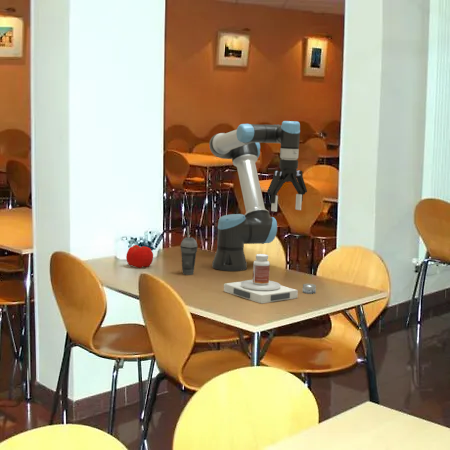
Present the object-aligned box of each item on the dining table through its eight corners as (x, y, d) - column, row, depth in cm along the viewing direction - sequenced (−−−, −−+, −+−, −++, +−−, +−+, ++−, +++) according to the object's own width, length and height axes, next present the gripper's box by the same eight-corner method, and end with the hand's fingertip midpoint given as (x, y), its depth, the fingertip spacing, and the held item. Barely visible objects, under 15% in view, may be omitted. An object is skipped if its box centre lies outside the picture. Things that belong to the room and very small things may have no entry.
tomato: (157, 267, 355) (158, 247, 354) (132, 270, 349) (133, 249, 347) (145, 263, 364) (146, 243, 363) (121, 265, 357) (121, 244, 356)
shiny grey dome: (299, 292, 321) (300, 284, 321) (308, 290, 324) (309, 283, 324) (309, 294, 317) (309, 287, 317) (318, 293, 320) (318, 285, 320)
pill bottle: (272, 284, 312) (273, 255, 310) (258, 286, 308) (260, 257, 306) (262, 281, 317) (263, 253, 315) (249, 282, 313) (250, 254, 312)
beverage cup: (186, 276, 340) (188, 228, 338) (175, 273, 346) (177, 226, 343) (200, 274, 345) (202, 227, 342) (189, 271, 351) (191, 224, 348)
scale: (222, 291, 315) (223, 280, 315) (259, 286, 327) (259, 276, 326) (261, 303, 298) (261, 292, 297) (298, 298, 310) (298, 287, 309)
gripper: (272, 160, 326) (269, 213, 329) (317, 159, 342) (314, 210, 345) (260, 158, 332) (257, 210, 335) (304, 158, 348) (301, 208, 351)
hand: (286, 210), depth 340 cm, fingers open, 13 cm apart
